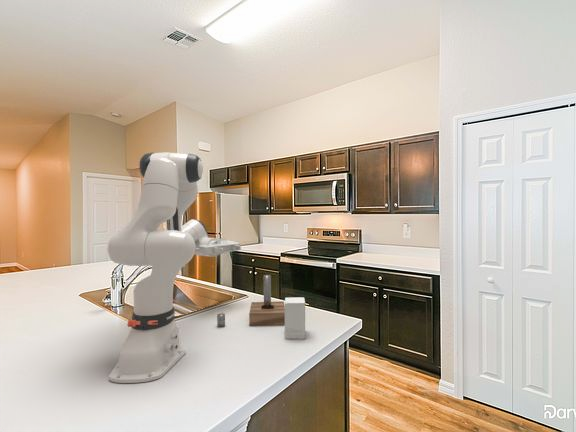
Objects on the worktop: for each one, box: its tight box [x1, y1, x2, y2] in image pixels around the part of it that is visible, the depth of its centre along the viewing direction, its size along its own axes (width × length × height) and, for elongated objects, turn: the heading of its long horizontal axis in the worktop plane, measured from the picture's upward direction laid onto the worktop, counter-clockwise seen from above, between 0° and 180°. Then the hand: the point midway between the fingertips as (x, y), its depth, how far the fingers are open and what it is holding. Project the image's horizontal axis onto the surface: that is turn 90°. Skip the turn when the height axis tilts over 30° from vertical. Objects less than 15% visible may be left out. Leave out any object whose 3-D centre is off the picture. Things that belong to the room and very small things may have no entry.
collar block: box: [248, 300, 285, 327], centre depth 123 cm, size 14×14×5 cm
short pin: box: [216, 312, 226, 328], centre depth 116 cm, size 3×3×4 cm
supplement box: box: [284, 296, 306, 340], centre depth 108 cm, size 7×7×13 cm
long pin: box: [263, 274, 272, 309], centre depth 123 cm, size 3×3×18 cm
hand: (231, 249), depth 131 cm, fingers open, 8 cm apart
